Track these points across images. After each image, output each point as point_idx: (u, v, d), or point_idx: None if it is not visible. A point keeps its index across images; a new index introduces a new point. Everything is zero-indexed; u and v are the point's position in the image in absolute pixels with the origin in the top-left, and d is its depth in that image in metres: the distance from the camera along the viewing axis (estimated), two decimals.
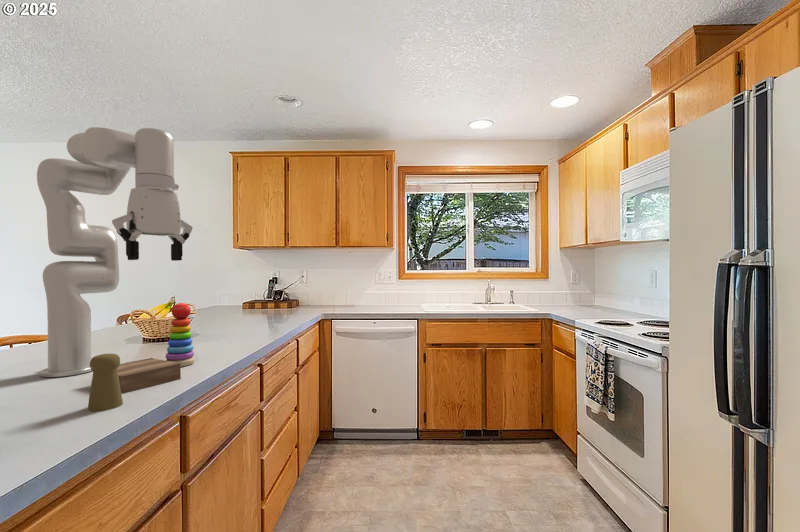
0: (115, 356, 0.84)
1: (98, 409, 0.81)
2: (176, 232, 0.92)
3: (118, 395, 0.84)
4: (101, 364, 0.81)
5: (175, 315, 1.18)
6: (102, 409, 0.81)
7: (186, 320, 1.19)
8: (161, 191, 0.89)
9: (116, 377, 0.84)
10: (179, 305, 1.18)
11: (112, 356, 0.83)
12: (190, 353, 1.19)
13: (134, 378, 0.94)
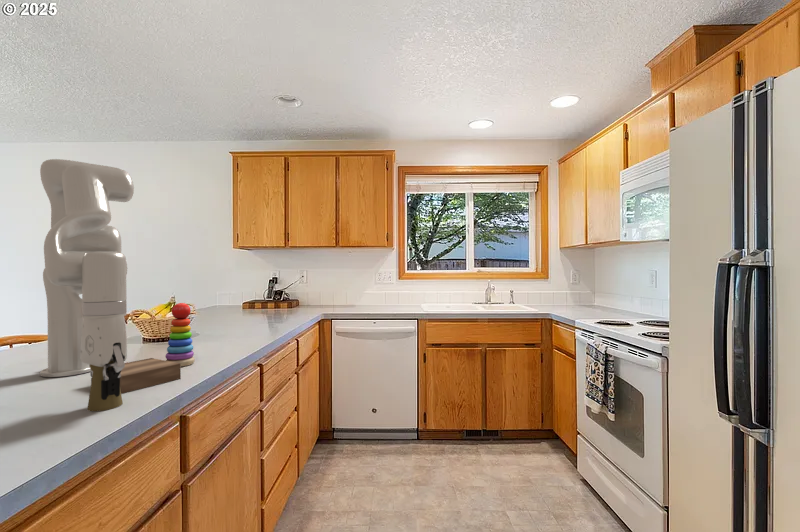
0: None
1: (98, 409, 0.81)
2: None
3: None
4: None
5: (175, 315, 1.18)
6: (102, 409, 0.81)
7: (186, 320, 1.19)
8: None
9: None
10: (179, 305, 1.18)
11: None
12: (190, 353, 1.19)
13: (134, 378, 0.94)
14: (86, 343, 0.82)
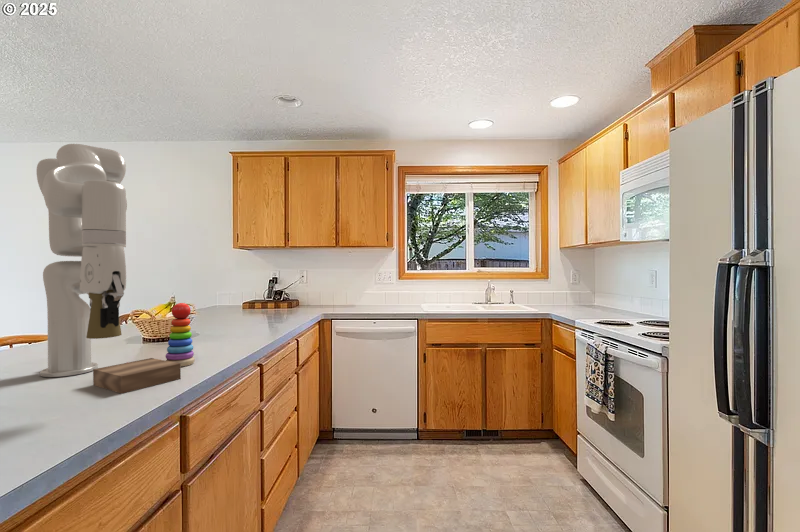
0: None
1: (97, 336, 0.81)
2: None
3: None
4: None
5: (175, 315, 1.18)
6: (101, 337, 0.81)
7: (186, 320, 1.19)
8: None
9: None
10: (179, 305, 1.18)
11: None
12: (190, 353, 1.19)
13: (134, 378, 0.94)
14: (85, 272, 0.82)
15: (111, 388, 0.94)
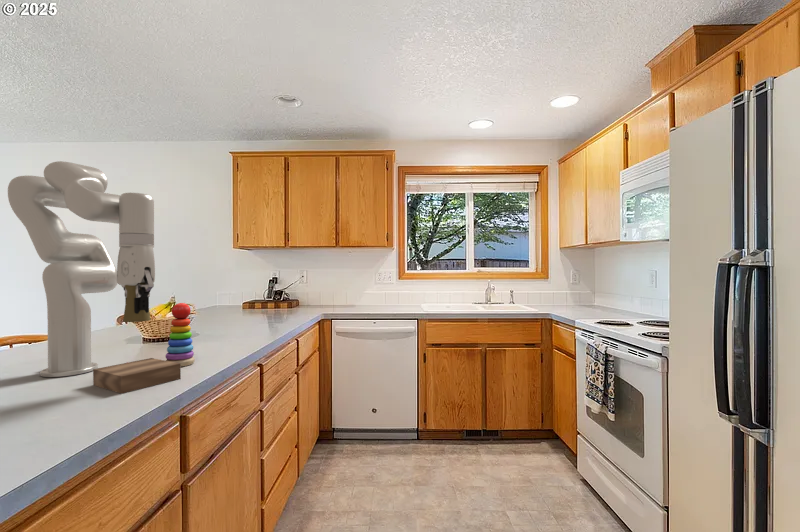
0: None
1: (132, 320, 0.99)
2: None
3: None
4: None
5: (175, 315, 1.18)
6: (135, 321, 0.99)
7: (186, 320, 1.19)
8: None
9: None
10: (179, 305, 1.18)
11: None
12: (190, 353, 1.19)
13: (134, 378, 0.94)
14: (122, 268, 1.00)
15: (111, 388, 0.94)
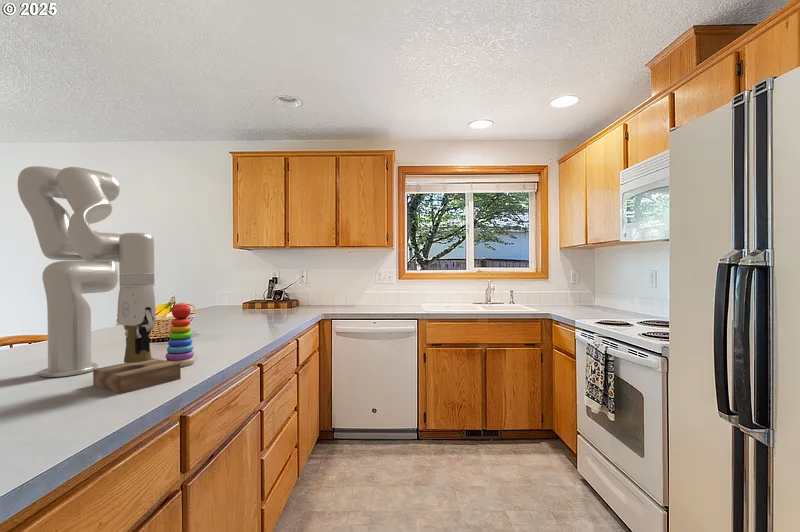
0: None
1: (133, 361, 0.99)
2: None
3: None
4: None
5: (175, 315, 1.18)
6: (136, 361, 0.99)
7: (186, 320, 1.19)
8: None
9: None
10: (179, 305, 1.18)
11: None
12: (190, 353, 1.19)
13: (134, 378, 0.94)
14: (122, 308, 1.00)
15: (111, 388, 0.94)
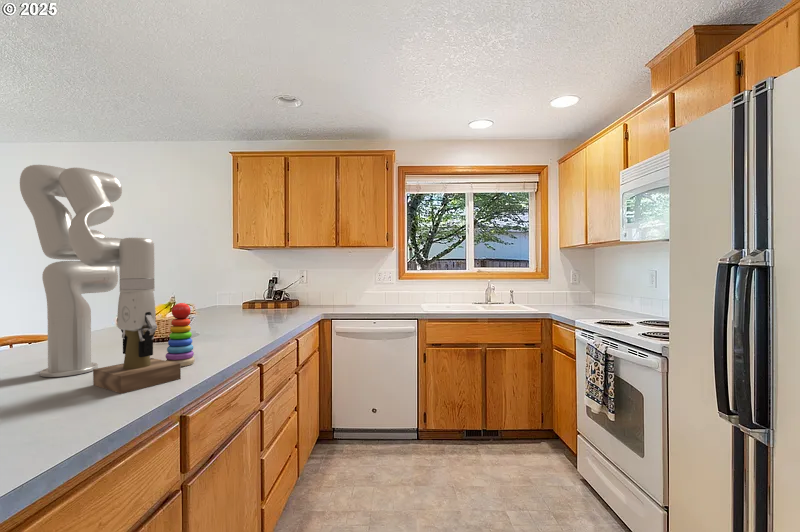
0: None
1: (132, 367, 0.99)
2: None
3: (148, 357, 1.02)
4: (134, 331, 0.99)
5: (175, 315, 1.18)
6: (135, 367, 0.99)
7: (186, 320, 1.19)
8: None
9: None
10: (179, 305, 1.18)
11: None
12: (190, 353, 1.19)
13: (134, 378, 0.94)
14: (122, 312, 1.00)
15: (111, 388, 0.94)
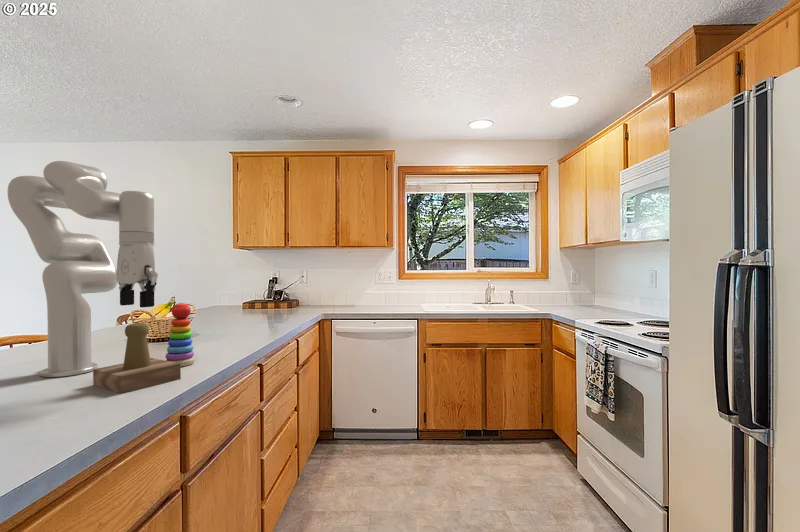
0: (145, 325, 1.02)
1: (132, 367, 0.99)
2: None
3: (148, 357, 1.02)
4: (134, 331, 0.99)
5: (175, 315, 1.18)
6: (135, 367, 0.99)
7: (186, 320, 1.19)
8: None
9: (146, 342, 1.02)
10: (179, 305, 1.18)
11: (143, 325, 1.01)
12: (190, 353, 1.19)
13: (134, 378, 0.94)
14: (122, 266, 1.00)
15: (111, 388, 0.94)
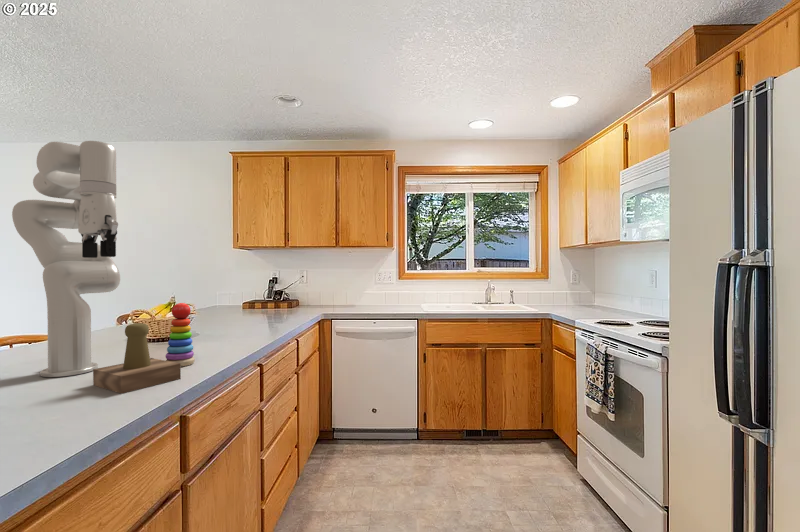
0: (145, 325, 1.02)
1: (132, 367, 0.99)
2: None
3: (148, 357, 1.02)
4: (134, 331, 0.99)
5: (175, 315, 1.18)
6: (135, 367, 0.99)
7: (186, 320, 1.19)
8: None
9: (146, 342, 1.02)
10: (179, 305, 1.18)
11: (143, 325, 1.01)
12: (190, 353, 1.19)
13: (134, 378, 0.94)
14: (83, 216, 1.00)
15: (111, 388, 0.94)
